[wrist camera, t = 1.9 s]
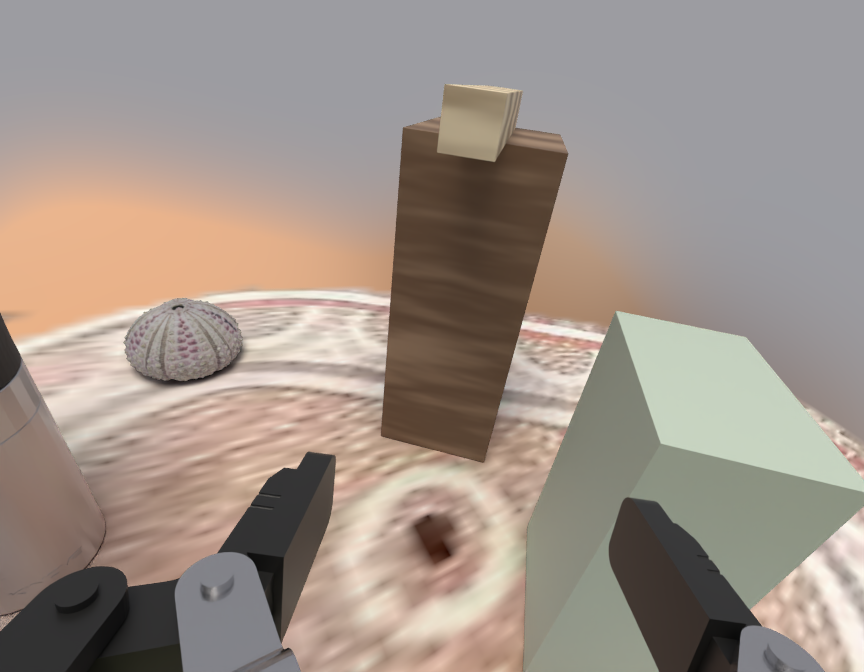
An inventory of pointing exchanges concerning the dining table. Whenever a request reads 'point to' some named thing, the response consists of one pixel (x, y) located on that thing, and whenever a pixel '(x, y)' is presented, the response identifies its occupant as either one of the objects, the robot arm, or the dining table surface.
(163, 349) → the sea urchin shell
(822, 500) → the sage pedestal
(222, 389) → the dining table surface
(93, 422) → the dining table surface
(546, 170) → the walnut pillar
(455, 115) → the oak rod
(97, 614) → the robot arm
